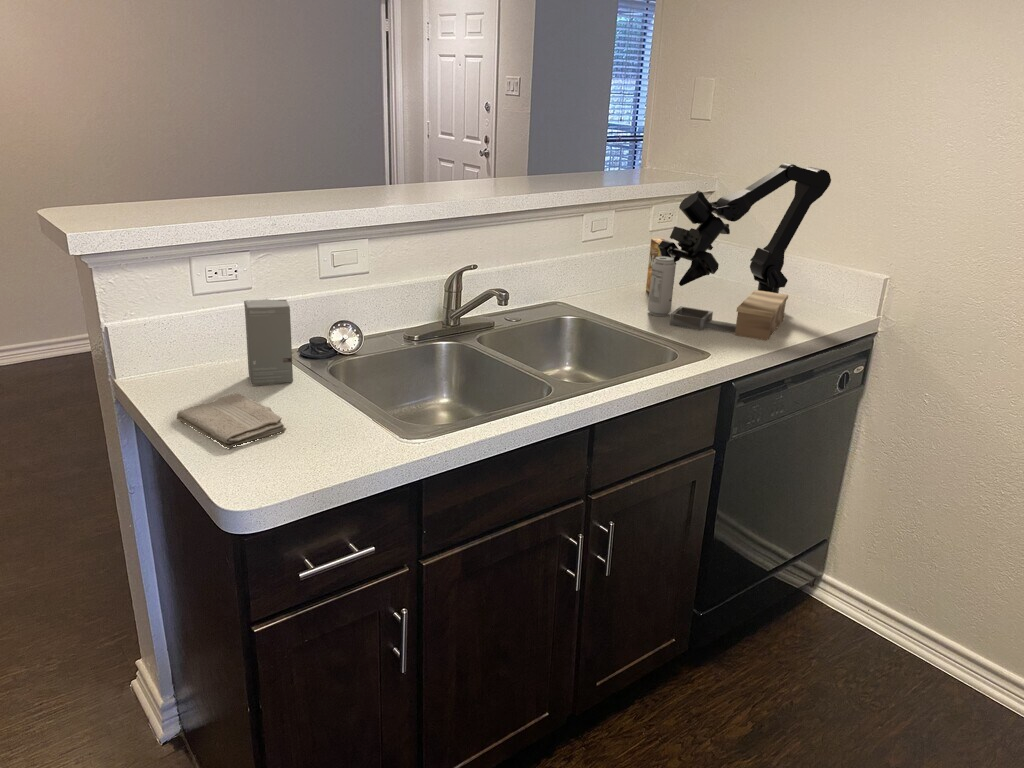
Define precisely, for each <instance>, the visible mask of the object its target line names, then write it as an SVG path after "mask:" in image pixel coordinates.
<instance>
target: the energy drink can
mask: <svg viewBox="0 0 1024 768" xmlns="http://www.w3.org/2000/svg"><path fill="white" fill-rule="evenodd" d="M676 265H677V264H676ZM676 265H675V263H674V258H672V257H666V256H658V257H655V261H654V262H653V264H652V273H651V282H650V292H648V293H649V294H648V302H647V303H648V304H647V311H648V312H649V314H650V315H651V316H654V317H666V316H667V317H668V315H669V314H671V313H672V312H671V311H672V301H673V294H674V284H675V276H676V268H677V267H676Z"/></svg>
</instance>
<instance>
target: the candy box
mask: <svg viewBox="0 0 1024 768" xmlns="http://www.w3.org/2000/svg"><path fill="white" fill-rule="evenodd" d="M665 240H666V239H664V238H651V239H650V247H649V255H648V256H649V258H648V266H647V272H646V273H647V275H646V283H645V290H646V291H647V292H648V293H649V292H650V282H651V273H652V264H653V262H654V261H655V257H658V256H662V255H661V252H660V251H659V250H660V249H659V248H658V245H659V244H660V243H661V242H662V241H665Z"/></svg>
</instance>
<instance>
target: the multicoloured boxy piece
mask: <svg viewBox="0 0 1024 768" xmlns="http://www.w3.org/2000/svg"><path fill="white" fill-rule="evenodd" d="M788 299H789V294H785V293H780V292H779V293H773V292H766V291H759V290H758V289H754V290H753V292H752V293H750V295H748V296H747V297H746V298H745V299H744V300H743V301H742V302H741V303H740V304H739V305H738V306H737V307H736V313H737V315H736V316H737V317H736V323H731V322H726V321H721V320H714V319H713V315H714V311H712V310H707V309H700V308H694V307H688V306H682V305H680V306H679V307H677V308H676V309H675V310H674V311H672V312H670V317H669V324H668V325H669V326H671V327H672V326H673V327H678V328H685V329H690V330H695V331H700V332H701V331H702V332H703V331H704V330H706V329H709V330H715V331H720V332H726V333H727V332H728V333H732V334H734V335H735V336H740V337H744V338H750V339H756V340H757V339H758V340H762V341H769V339H770V338H771V337H772V336H773V334H774V333H775V332H774V331H776V330H777V329H778V328H777V327H780V326H781V324H780V323H783V322H784V315H785V310H786V303H787V300H788Z"/></svg>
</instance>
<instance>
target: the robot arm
mask: <svg viewBox="0 0 1024 768" xmlns="http://www.w3.org/2000/svg"><path fill="white" fill-rule="evenodd" d="M790 181H793V182H796V183H795V185H794V197H793V199H792V200H791V202H790V204H789V206H788V208H787V210H786V211H785V213H784V215H783V217H782V219H781V220H780V222H779V224H778V226H777V228H776V230H775V231H774V234H773V235H772V237H771V239H770V240H769V242H768V244H767V245H766V246H764V247H763V248H761V247H757V248H756V249H755V252H754V254H753V256H752V257H751V259H750V261H749V262H750V265H749V268H750V272H751V274H752V275H753V280H754V281H755V282H758V283H757V285H758V286H757V290H759V291H766V292H773V293H779V294H780V289H781V288H785V287H786V285H787V283H788V281H789V280H788V279H787V277H786V276H785V275H784V273H783V272H782V269H783V267H784V264H785V252H786V250H787V248H788V246H789V245H790V243H791V241H792V240H793V237H794V236H795V235H796V232H797V231H798V230H799V227H800V225H801V224H802V221H803V220H804V218H805V216H806V214H807V212H808V211H809V209H810V207H811V206H812V205H813V204H814V203H815V202H816V201H817V200H819V199H820V198H821V197H822V196H823V195H824V193H826V191H827V190H828V189H829V187H830V185H831V182H832V178H831V174H830V173H829V171H828V170H826V169H821V168H816V167H811V166H808V167H806V168H804V167H801V166H797V165H796V164H792V163H788V162H784V163H782V164H780V165H779V166H778V167H777V168H775V169H774V170H773V171H771V172H769V173H767V174H766V175H764V176H763V177H762V178H760V179H758V180H757V181H755V182H754V183H751V185H749V186H747V187H746V188H744V189H741V190H738V191H734V192H731V193H728V194H726V195H724V196H722V197H720V198H718V199H717V200H716V201H709V200H708V199H707V198H706V196H705V194H704V193H703V191H701V190H696V191H695V192H694V193H692V194H690V195H689V196H687V197H684V199H682V201H681V203H680V204H679V210H680V211H681V212H682V213H683V214H684V216H685V217H686V218H687V219H688V220H689V222H691V223H692V224H693V225H697V224H698V226H697V228H690V229H685V228H681V227H678V226H673V228H672V231H671V233H670V234H669V235H670V236H669V239H671V240H675V241H676V242H677V244H676V243H675V242H672V241H669V240H666V239H665V241H662V242H661V243H660V244H659V245H658V248H659V249H660V250H659V251H660V252H661V255H662V256H666V257H672V258H674V263H675V265H677V262H679V261H680V260H681V259H684V260H687V261H690V262H691V263H690V266H689V268H688V269H687V270H686V272H685V273H684V275H683V276H682V277H681V279H680V280H679V282H678V285H679V286H680V287H681V286H682V287H683V286H685V285H687V284H689V283H691V282H694V281H695V280H698V279H700V278H702V277H705V276H709V275H710V274H712V275H715V274H716V272H717V271H718V270H719V267H720V266H719V265H720V264H719V262H718V261H717V259H716V258H715V256H714V255H713V254H712V253H711V252H708V251H707V250H709V251H712V250H713V249H714V247H713V245H712V244H714V242H715V241H716V239H717V238H718V237H719V236H720V234H721V235H730V234H731V230H730V224H729V223H724V221H723V220H727V221H729V222H737V221H739V220H741V218H742V217H744V216H745V215H747V213H749V212H750V209H751V208H752V206H754V204H756V203H757V202H759V201H760V200H762V199H764V198H765V197H767V196H768V195H770V194H771V193H773V192H776V190H778V189H779V188H781V187H783V186H784V185H786V184H788V183H789V182H790ZM715 214H716V216H715ZM722 219H723V220H722ZM679 247H680V249H679Z"/></svg>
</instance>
